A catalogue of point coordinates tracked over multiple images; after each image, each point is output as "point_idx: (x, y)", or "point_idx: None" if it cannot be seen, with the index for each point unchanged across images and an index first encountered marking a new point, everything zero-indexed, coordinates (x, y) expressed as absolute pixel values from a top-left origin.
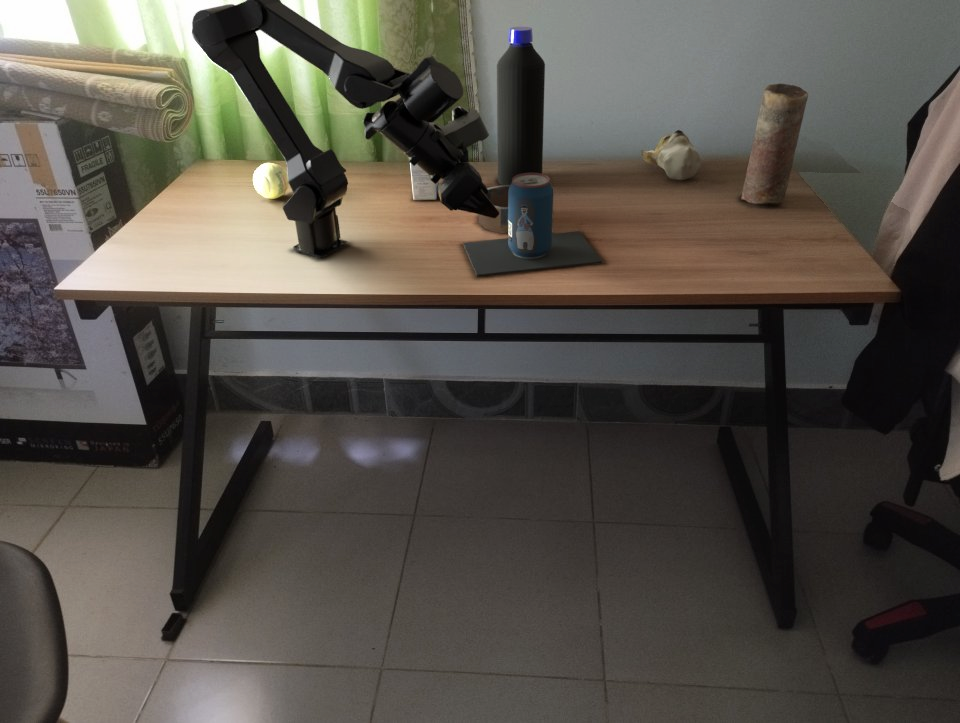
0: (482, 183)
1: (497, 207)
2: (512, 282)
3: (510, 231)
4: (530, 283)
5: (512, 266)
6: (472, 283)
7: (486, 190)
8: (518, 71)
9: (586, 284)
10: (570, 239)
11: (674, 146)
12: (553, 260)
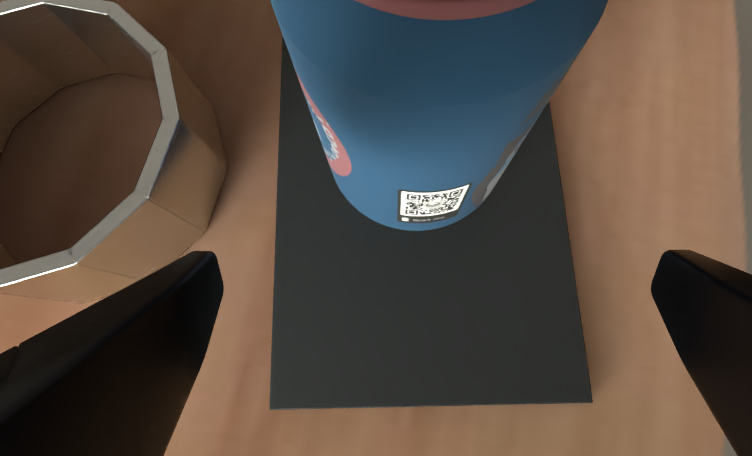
0: (173, 291)
1: (131, 212)
2: (642, 270)
3: (448, 205)
4: (654, 209)
5: (533, 246)
6: (641, 430)
7: (209, 266)
8: None
9: (671, 43)
10: None
11: None
12: None
